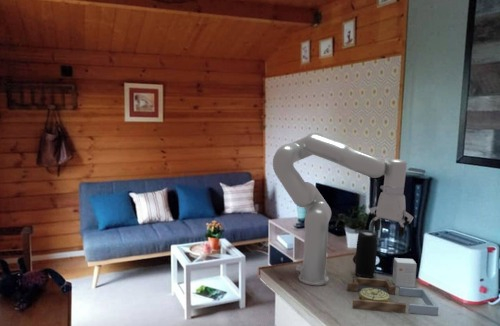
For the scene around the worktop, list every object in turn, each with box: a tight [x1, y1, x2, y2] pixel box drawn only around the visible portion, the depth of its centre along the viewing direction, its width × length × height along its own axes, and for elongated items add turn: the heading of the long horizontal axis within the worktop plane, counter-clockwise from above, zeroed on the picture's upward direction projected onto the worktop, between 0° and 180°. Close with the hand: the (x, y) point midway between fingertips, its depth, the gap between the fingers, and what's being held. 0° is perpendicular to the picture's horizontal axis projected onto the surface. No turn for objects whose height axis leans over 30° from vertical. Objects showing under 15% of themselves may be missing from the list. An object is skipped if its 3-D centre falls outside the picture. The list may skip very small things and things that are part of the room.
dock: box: [398, 286, 439, 316], centre depth 155 cm, size 10×16×3 cm, turn 174°
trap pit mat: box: [358, 285, 388, 293], centre depth 167 cm, size 12×5×1 cm, turn 84°
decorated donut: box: [359, 288, 390, 302], centre depth 157 cm, size 10×11×4 cm
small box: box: [391, 257, 418, 288], centre depth 173 cm, size 8×6×10 cm
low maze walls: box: [346, 276, 407, 314], centre depth 160 cm, size 18×22×3 cm
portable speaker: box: [354, 229, 378, 278], centre depth 181 cm, size 9×9×20 cm
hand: (388, 233), depth 163 cm, fingers open, 9 cm apart
